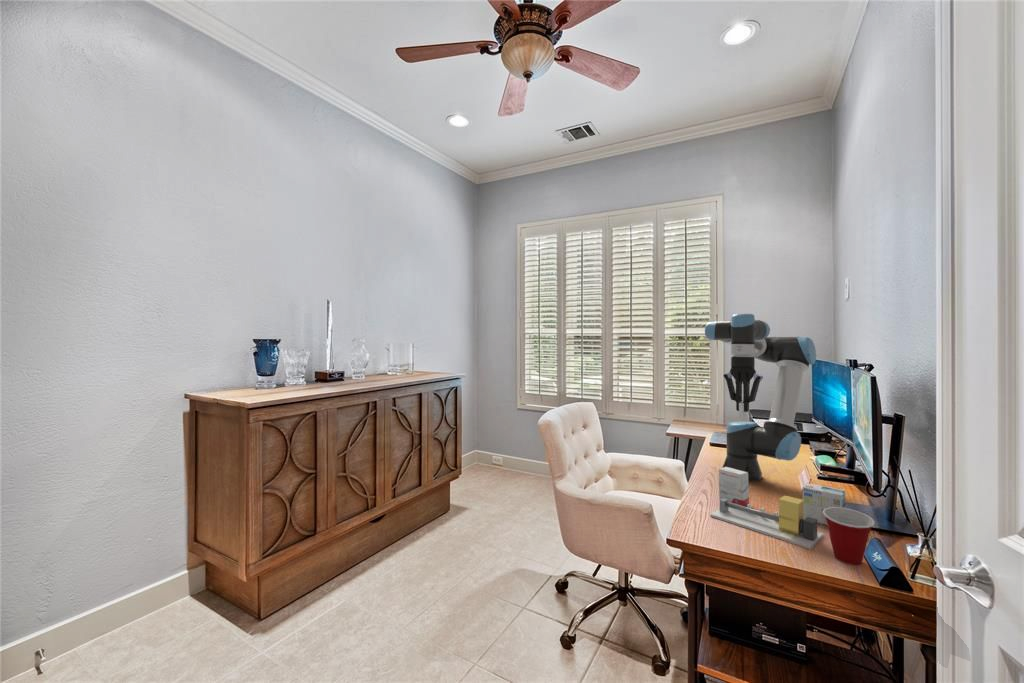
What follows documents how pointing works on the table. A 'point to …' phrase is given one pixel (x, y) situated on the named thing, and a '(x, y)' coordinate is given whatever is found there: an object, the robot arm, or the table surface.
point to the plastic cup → (848, 533)
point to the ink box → (734, 486)
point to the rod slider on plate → (767, 523)
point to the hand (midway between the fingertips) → (742, 420)
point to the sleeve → (790, 514)
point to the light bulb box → (821, 500)
